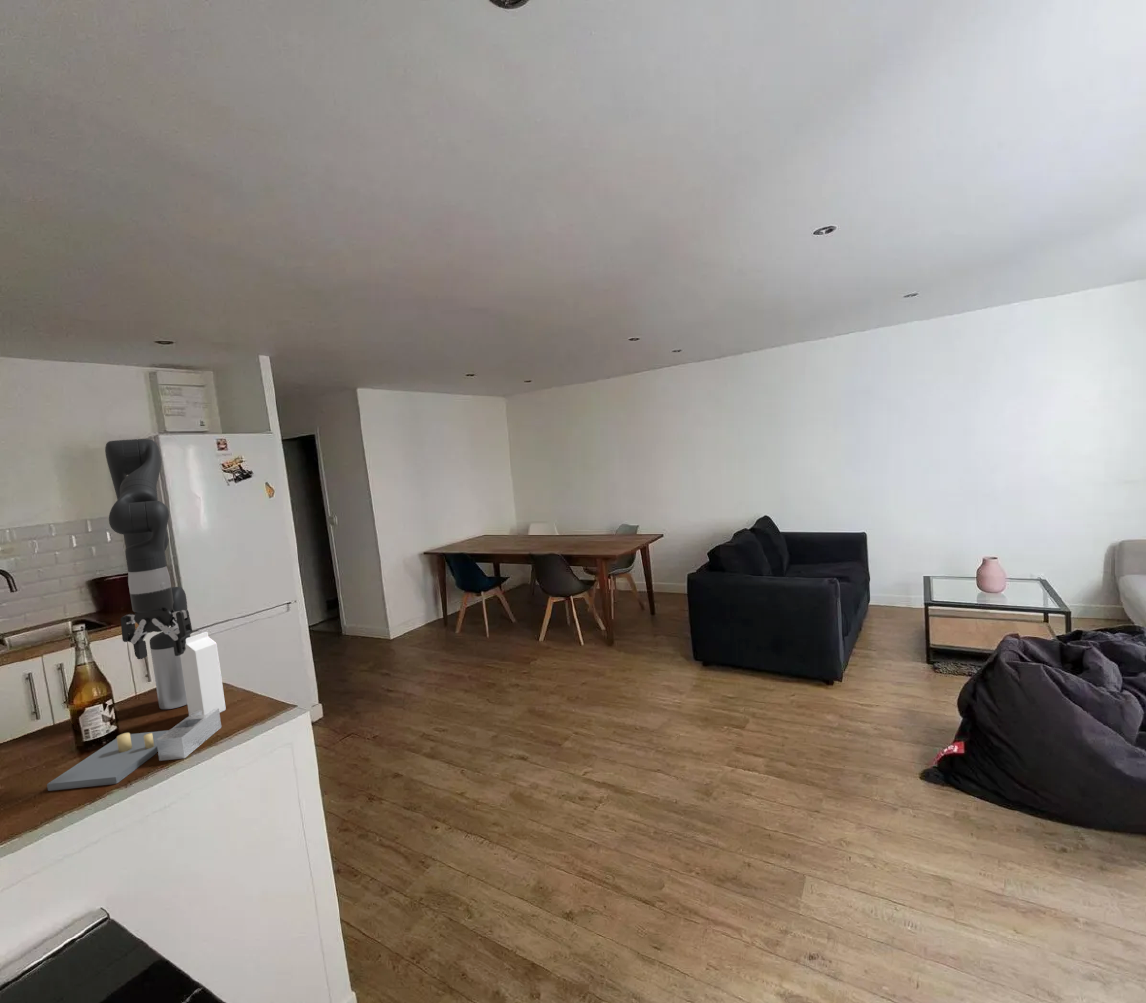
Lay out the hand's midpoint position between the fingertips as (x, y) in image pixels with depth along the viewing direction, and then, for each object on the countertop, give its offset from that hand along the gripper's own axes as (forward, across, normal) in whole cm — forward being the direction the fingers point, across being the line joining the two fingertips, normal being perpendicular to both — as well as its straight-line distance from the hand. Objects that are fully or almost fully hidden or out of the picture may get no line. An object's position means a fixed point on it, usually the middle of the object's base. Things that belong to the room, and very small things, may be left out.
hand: (161, 656), depth 124 cm
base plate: (+23, +10, +3) cm, 25 cm away
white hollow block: (+23, -2, -2) cm, 23 cm away
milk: (+23, +4, -18) cm, 29 cm away
